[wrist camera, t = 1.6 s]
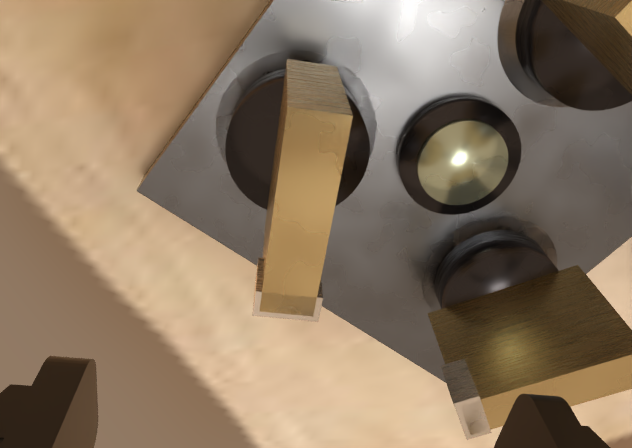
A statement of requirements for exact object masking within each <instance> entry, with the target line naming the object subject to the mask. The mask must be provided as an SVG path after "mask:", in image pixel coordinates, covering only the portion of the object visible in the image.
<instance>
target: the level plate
mask: <svg viewBox="0 0 632 448" xmlns="http://www.w3.org/2000/svg"><path fill="white" fill-rule="evenodd" d="M524 1H525V0H271V1H270V2H269V4H268V5H267V6H266V8H265V9H264V10H263V12H262V13H261V15H260V16H259V17H258V19H257V20H256V22H255V23H254V24H253V26H252V27H251V29H250V30H249V31H248V33H247V34H246V35H245V37H244V38H243V40H242V41H241V42H240V44H239V45H238V47H237V48H236V49H235V51H234V52H233V54H232V55H231V56H230V58H229V59H228V60H227V62H226V63H225V65H224V66H223V67H222V69H221V70H220V72H219V73H218V74H217V76H216V77H215V79H214V80H213V81H212V83H211V84H210V85H209V87H208V88H207V90H206V91H205V92H204V94H203V95H202V97H201V98H200V99H199V101H198V102H197V104H196V105H195V106H194V108H193V109H192V110H191V112H190V113H189V115H188V116H187V117H186V119H185V120H184V122H183V123H182V124H181V126H180V127H179V129H178V130H177V131H176V133H175V134H174V135H173V137H172V138H171V140H170V141H169V142H168V144H167V145H166V147H165V148H164V149H163V151H162V152H161V154H160V155H159V156H158V158H157V159H156V160H155V162H154V163H153V165H152V166H151V167H150V169H149V170H148V172H147V173H146V174H145V176H144V177H143V179H142V181H141V183H140V185H139V187H138V189H137V191H138V192H139V193H141V194H142V195H144V196H146V197H147V198H149V199H150V200H152V201H154V202H155V203H157V204H159V205H160V206H162V207H163V208H165V209H167V210H168V211H170V212H171V213H173V214H175V215H176V216H178V217H179V218H181V219H183V220H184V221H186V222H188V223H189V224H191V225H192V226H194V227H196V228H197V229H199V230H200V231H202V232H204V233H205V234H207V235H209V236H210V237H212V238H213V239H215V240H217V241H218V242H220V243H221V244H223V245H225V246H226V247H228V248H229V249H231V250H233V251H234V252H236V253H238V254H239V255H241V256H242V257H244V258H246V259H247V260H249V261H250V262H252V263H254V264H255V265H258V257H259V258H263V246H264V231H265V222H266V214H267V210H266V209H263V208H262V207H260V206H258V205H256V204H255V203H254V202H252V201H251V200H250V199H248V198H247V197H246V196H245V195H244V194H243V193H242V192H241V190H240V189H239V188H238V187H237V185H236V184H235V182H234V180H233V179H232V177H231V174H230V172H229V169H228V166H227V162H226V155H225V143H226V136H227V132H228V128H229V124H230V120H231V117H232V113H233V110H234V108H235V105H236V103H237V101H238V100H239V98H240V97H241V95H242V94H243V92H244V91H245V90H246V89H247V88H248V87H249V86H250V85H251V84H252V83H253V82H255V81H256V80H258V79H259V78H261V77H262V76H264V75H266V74H268V73H270V72H273V71H276V70H280V69H285V68H286V62H287V59H292V60H298V61H305V62H312V63H318V64H325V65H332V66H337V69H338V72H339V75H340V78H341V81H342V84H343V86H344V87H345V88H347V90H348V91H349V92H350V93H351V95H352V96H353V98H354V99H355V101H356V102H357V105H358V107H359V109H360V112H361V114H362V117H363V120H364V122H365V125H366V128H367V131H368V135H369V142H370V156H369V162H368V166H367V169H366V172H365V174H364V176H363V178H362V180H361V182H360V183H359V185H358V186H357V188H356V189H355V190H354V191H353V193H352V194H351V195H350V196H349V197H347V198H346V199H345V200H344V201H342V202H341V203H340V204H338V205H337V206H335V209H334V214H333V220H332V225H331V230H330V235H329V240H328V245H327V250H326V255H325V260H324V265H323V270H322V275H321V282H322V293H323V301H322V306H323V307H325V308H326V309H328V310H329V311H331V312H333V313H334V314H336V315H338V316H339V317H341V318H342V319H344V320H346V321H347V322H349V323H350V324H352V325H354V326H355V327H357V328H359V329H360V330H362V331H363V332H365V333H367V334H368V335H370V336H371V337H373V338H375V339H376V340H378V341H379V342H381V343H383V344H384V345H386V346H388V347H389V348H391V349H392V350H394V351H396V352H397V353H399V354H400V355H402V356H404V357H405V358H407V359H409V360H410V361H412V362H413V363H415V364H417V365H418V366H420V367H421V368H423V369H425V370H426V371H428V372H430V373H431V374H433V375H434V376H436V377H438V378H439V379H441V380H442V381H444V382H446V380H445V377H444V374H443V371H442V368H441V365H445V362H444V359H443V356H442V353H441V350H440V348H439V345H438V342H437V339H436V336H435V333H434V331H433V328H432V325H431V322H430V319H429V316H428V314H427V313H430V312H433V311H436V310H439V309H441V307H440V304H439V302H438V299H437V296H436V292H435V278H436V274H437V271H438V269H439V267H440V265H441V263H442V261H443V260H444V259H445V257H446V256H447V255H448V254H449V253H450V252H451V251H452V250H453V249H454V248H455V247H456V246H457V245H459V244H460V243H462V242H463V241H465V240H467V239H469V238H470V237H473V236H475V235H478V234H481V233H484V232H489V231H495V230H509V231H515V232H519V233H522V234H524V235H526V236H529V237H530V238H532V239H533V240H535V241H536V242H537V243H538V244H539V245H540V247H541V248H542V249H543V251H544V252H545V253H546V255H547V256H548V257H549V259H550V260H551V261H552V262H553V264H554V265H555V266H556V268H557V269H558V270H559V271H560V270H563V269H566V268H569V267H572V266H576V265H578V266H579V267H580V268H581V269H582V270H583V272H584V273H585V274H587V273H588V272H589V271H590V270H591V269H593V268H594V267H595V266H596V265H598V264H599V263H600V262H601V261H602V260H604V259H605V258H606V257H607V256H609V255H610V254H611V253H612V252H613V251H615V250H616V249H617V248H618V247H620V246H621V245H622V244H623V243H624V242H626V241H627V240H628V239H629V238H631V237H632V101H631V102H629V103H627V104H624V105H622V106H619V107H615V108H612V109H607V110H601V111H587V110H580V109H575V108H572V107H570V106H567V105H565V104H563V103H562V102H560V101H558V100H557V99H556V98H554V97H553V96H551V95H550V94H548V93H547V92H546V91H544V90H543V89H541V88H540V87H538V86H537V85H536V84H535V83H533V82H532V81H531V80H530V79H529V77H528V76H527V75H526V74H525V72H524V70H523V69H522V67H521V65H520V62H519V60H518V56H517V52H516V45H515V32H516V25H517V20H518V16H519V13H520V10H521V8H522V5H523V3H524Z"/></svg>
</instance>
